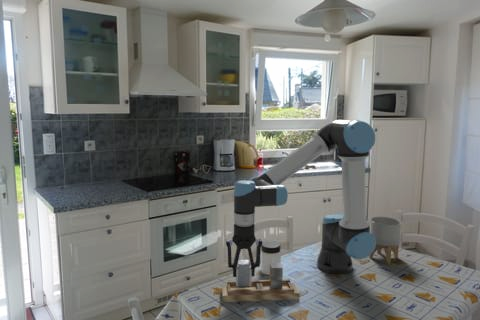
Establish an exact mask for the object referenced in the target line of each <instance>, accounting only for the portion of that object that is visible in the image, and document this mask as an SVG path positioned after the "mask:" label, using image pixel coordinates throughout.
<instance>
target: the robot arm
mask: <svg viewBox="0 0 480 320" xmlns="http://www.w3.org/2000/svg"><path fill="white" fill-rule="evenodd" d="M375 142H376V133H375V130H374V128H373V126H371V125H370V124H369V123H367V122H365V121H361V120H359V119H344V118H343V119H340V118H339V119H336V120H333V121H331V122H328V123H327V124H325V125H324V126H323V127H321V128H320V129H318V130H317V131H316V132H314V133H313V134H312V135H311V138H310V139H309V140H308V141H306V142H304V143H303V144H301V146H299V147H298V148H297V149H295V150H294V151H292V152H291V153H289V154H288V155H287V156H286V157H284V158H282V159H281V160H280V161H279V162H278V163H276V164H275V165H273V166H272V167H270V168H269V169H268V170H266V171H265V172H263V173H262V174H260V175H259V176H254V177H253V176H252V177H251V178H250V179H249V180H247V179H246V180H245V179H244V180H237V181H236V182H235V183H234V186H233V188H234V189H233V223H234V224H233V236H232V238H231V239H226V240H225V245H226V248H227V265H228V268H231V269H232V276H233V278H235V281H236V286H238V260H240V254H241V251H242V250H247V253H248V258H249V263H250V282H249V286H251V284H252V280H253V278H252V277H255V276H256V275H255V269H256V268H260V267H261V246H262V243H263V241H262V239H261V238H259V239H258V238H256V235H255V234H256V233H255V232H256V231H255V228H256V226H255V222H256V221H255V219H256V218H255V217H256V216H255V215H256V214H255V212H256V208H261V207H278V206H283V205H286V204H287V201H288V190H287V187H286V186H285V185H283V183H284V182H285V181H287V180H289V178H291V177H292V176H294V175H295V174H297V173H298V172H299V171H300V170H302V169H303V168H305V167H306V166H307V165H309V164H310V163H312V162H313V161H314V160H316V159H317V158H318V157H320V156H321V155H322V154H328V153H329V152H331V151H333V150H335V149H337V150H336V151H337V157H338V158H339V159H340V160H341V189H342V190H341V192H342V197H341V198H342V199H341V200H342V213H341V214H340V213H339V214H338V213H335V214H332V213H331V214H328V215H327V214H326V215H325V216H324V217H323V218H322V223H321V225H322V228H321V229H322V231H321V233H322V234H321V249H320V252H319V254H318V256H317V261H316V266H317V267H318V269H320V270H322V271H324V272H327V273H331V274H347V273H350V272H351V271H352V270H353V265H354V264H353V263H354V262H353V260H352V258H353V259H354V260H359V261H361V260H364V259H367V258H369V256H370V254H371V253H372V252H373V251H374V249H375V246H376V240H375V237H374V236H373V235H372V234H371V233H370V225H371V223H370V222H369V221H368V220H367V219H366V159H367V158H369V156H370V151H371V150H372V148H373V146H375V144H376V143H375ZM233 243H234V244H235V246H236V249H235V250H236V251H235V254H234V259H233V262H232V246H233ZM254 244H255V245H256V246H255V247H256V248H255V250H256V251H255V262H254V257H253V251H252V246H253V245H254Z"/></svg>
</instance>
